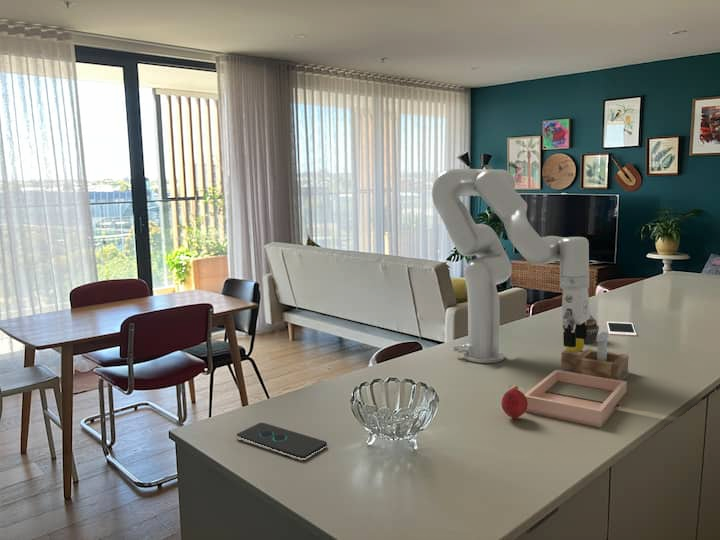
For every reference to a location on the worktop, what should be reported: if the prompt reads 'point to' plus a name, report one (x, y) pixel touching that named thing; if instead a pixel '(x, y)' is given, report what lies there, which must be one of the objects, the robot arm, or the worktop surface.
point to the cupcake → (591, 330)
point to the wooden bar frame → (595, 364)
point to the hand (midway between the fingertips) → (575, 342)
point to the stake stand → (601, 350)
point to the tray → (575, 399)
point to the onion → (514, 403)
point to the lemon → (577, 345)
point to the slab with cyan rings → (283, 440)
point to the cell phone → (621, 328)
